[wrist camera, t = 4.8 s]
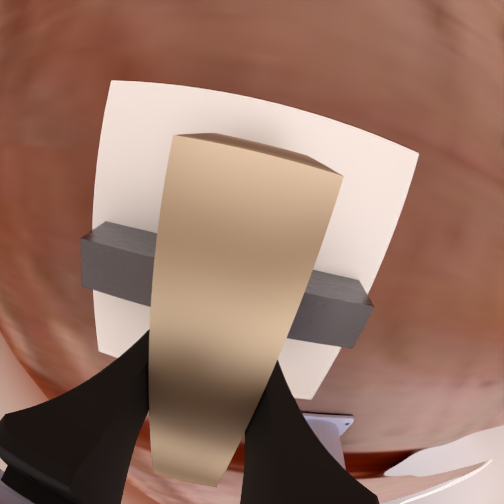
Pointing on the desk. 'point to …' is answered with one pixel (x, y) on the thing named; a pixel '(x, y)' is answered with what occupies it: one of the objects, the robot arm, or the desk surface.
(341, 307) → the stand
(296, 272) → the oak bar
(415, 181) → the desk surface
